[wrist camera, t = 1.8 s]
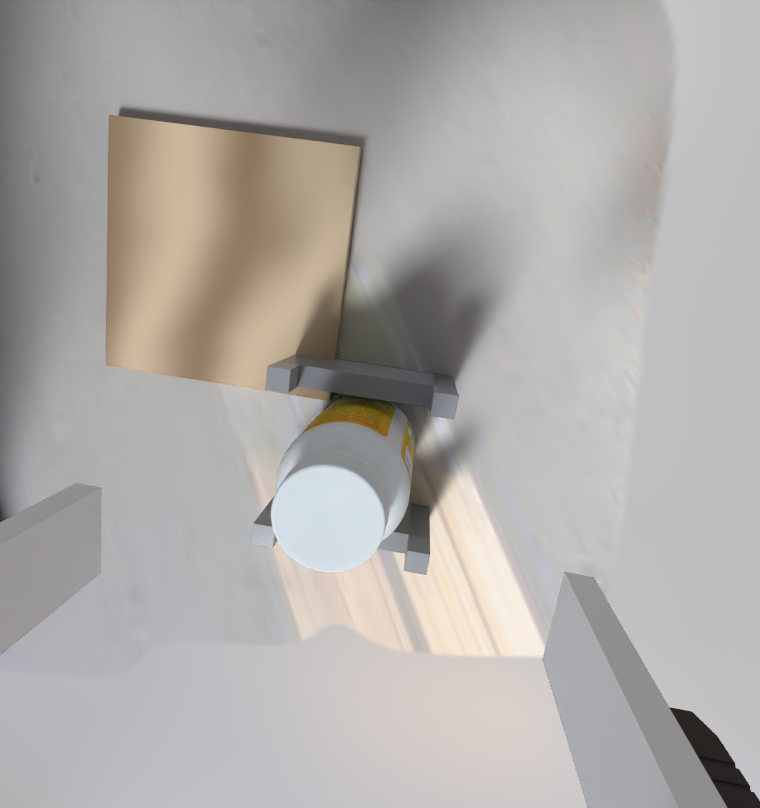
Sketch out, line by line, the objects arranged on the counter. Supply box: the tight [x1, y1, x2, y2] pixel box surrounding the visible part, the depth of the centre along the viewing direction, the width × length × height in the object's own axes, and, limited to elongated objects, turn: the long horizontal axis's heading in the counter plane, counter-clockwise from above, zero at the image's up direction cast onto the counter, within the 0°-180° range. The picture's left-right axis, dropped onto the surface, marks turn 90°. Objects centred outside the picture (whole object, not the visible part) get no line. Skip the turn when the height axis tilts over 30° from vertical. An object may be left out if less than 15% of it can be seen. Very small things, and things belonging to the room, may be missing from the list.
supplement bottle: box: [271, 395, 415, 572], centre depth 21 cm, size 5×5×10 cm
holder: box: [251, 354, 459, 575], centre depth 23 cm, size 8×8×5 cm
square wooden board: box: [106, 115, 361, 401], centre depth 24 cm, size 12×12×1 cm
